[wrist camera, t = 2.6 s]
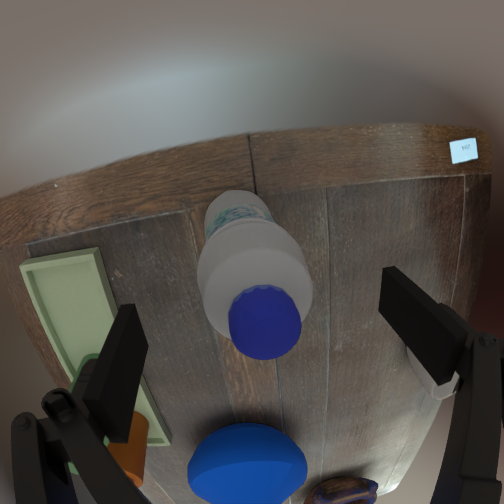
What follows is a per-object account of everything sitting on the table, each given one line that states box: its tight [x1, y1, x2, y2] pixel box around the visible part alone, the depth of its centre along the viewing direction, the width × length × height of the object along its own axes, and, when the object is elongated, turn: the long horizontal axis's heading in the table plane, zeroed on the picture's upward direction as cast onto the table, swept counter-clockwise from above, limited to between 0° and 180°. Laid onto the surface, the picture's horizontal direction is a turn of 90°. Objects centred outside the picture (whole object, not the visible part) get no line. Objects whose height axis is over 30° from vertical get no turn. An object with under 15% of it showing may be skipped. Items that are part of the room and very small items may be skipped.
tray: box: [19, 247, 172, 446], centre depth 36 cm, size 34×11×2 cm, turn 6°
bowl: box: [304, 477, 378, 504], centre depth 54 cm, size 18×18×10 cm
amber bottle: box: [106, 411, 149, 487], centre depth 33 cm, size 6×6×16 cm
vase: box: [188, 423, 308, 504], centre depth 37 cm, size 18×18×19 cm
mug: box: [407, 347, 459, 399], centre depth 38 cm, size 13×9×10 cm
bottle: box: [197, 190, 313, 360], centre depth 22 cm, size 7×7×20 cm
